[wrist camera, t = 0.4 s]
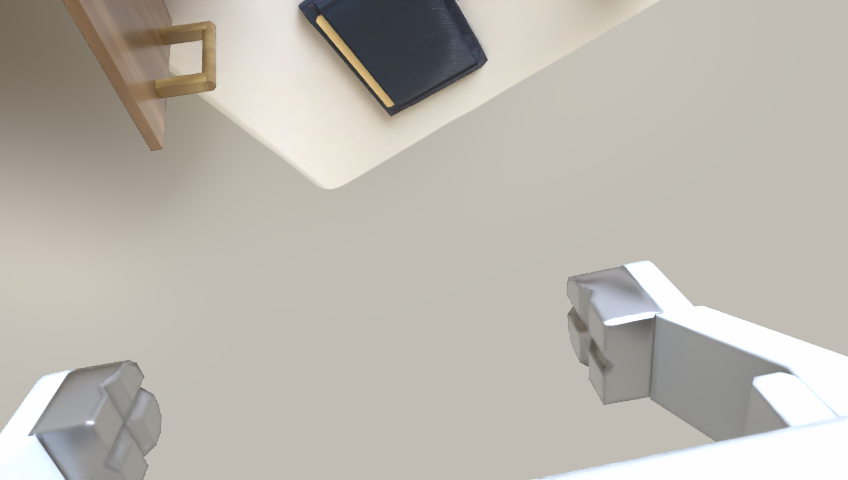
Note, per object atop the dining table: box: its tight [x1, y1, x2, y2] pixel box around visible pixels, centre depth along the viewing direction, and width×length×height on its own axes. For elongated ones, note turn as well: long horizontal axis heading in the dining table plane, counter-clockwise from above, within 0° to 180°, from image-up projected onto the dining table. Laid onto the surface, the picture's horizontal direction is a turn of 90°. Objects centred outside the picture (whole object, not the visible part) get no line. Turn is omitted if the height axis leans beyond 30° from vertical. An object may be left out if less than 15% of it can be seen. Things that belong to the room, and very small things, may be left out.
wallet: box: [299, 0, 487, 116], centre depth 66 cm, size 20×2×15 cm
